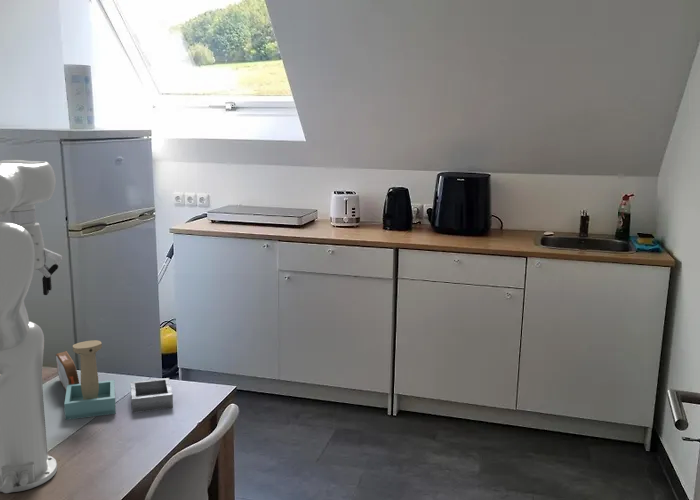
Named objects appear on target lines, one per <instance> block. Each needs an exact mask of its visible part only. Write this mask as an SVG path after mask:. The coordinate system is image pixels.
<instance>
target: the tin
mask: <svg viewBox="0 0 700 500" xmlns="http://www.w3.org/2000/svg"><path fill="white" fill-rule="evenodd" d="M55 360H56V367H57V375H58V379H59V381H60V383H61V385H62V387H63V388H64V391H66V390H67V385H73V384H80V380H79V374H78V371H77V370H78V369H77V367H76V364H75V363H74V362H75V361H74V360H73V359H72V357H71V356H70V354H69V353H68V351H67V350H65V351H62V352H57V353H56V354H55Z"/></svg>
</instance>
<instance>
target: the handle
mask: <svg viewBox="0 0 700 500" xmlns="http://www.w3.org/2000/svg"><path fill="white" fill-rule="evenodd" d="M102 344H103V343H102V341H101V340H99V339H98V340H97V339H96V340H95V339H94V340H85V341H80V342H77V343H75V344H72V352H74V353H75V354H77V355H79V356H80V384H81V390H82V395H83V400H87V399H96V398H98V397H97V396H98V392H99V382H100V381H99V375H98V373H99V372H98V367H97V358H96V356H97V355H96V353H97V352H99V351H100V350H101V349H102V348H103V345H102Z"/></svg>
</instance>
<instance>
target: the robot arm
mask: <svg viewBox="0 0 700 500" xmlns="http://www.w3.org/2000/svg"><path fill="white" fill-rule="evenodd" d="M56 180H57V179H56V174H55V171H54V168H53V166H52V165H51V164H50V163H49V162H48V161H42V160H40V161H39V160H23V159H4V160H3V159H2V160H0V493H4V494H10V493H17V492H23V491H28V490H31V489H33V488H37V487H39V486H41V485H43V484H44V483H46V482H48V481H50V479H52V478H53V476H55V474H56V472H57V471H58V462H57V460H56V458H54V457H53V456H51V455H49V454H48V443H47V442H48V440H47V430H46V428H47V427H46V418H45V417H46V416H45V404H44V403H45V401H44V386H43V361H44V350H45V335H44V332H43V330H42V327H41V326H40V325H38V324H37V323H35V322H33V321H30V318H29V314H28V310H27V308H26V304H25V298H27V294H28V292H29V289H30V287H31V283H32V280H33V276H34V272H35V271H38V272H39V273H41V274H42V275H43V277H42V279H41V281H42V291H43V292H42V293H43V294H42V295H44V296H48V295H49V293H50V291H52V275H53V274H54V273H55V272H56V271H57V270H58V269H59V267H60V265H61V263H62V261H63V259H64V256H63V255H62V254H60V253H57V252H54V251H52V250H50V249H47V248H46V247H45V242H44V236H43V232H42V228H41V225H40V223H39V222H37V218H36V217H37V216H36V205H35V204H39V203H44V202H48V201H49V200H51V198H52V197H53V194H54V193H55V189H56V183H57V181H56ZM46 257H48V258H50V259H52V260H53V263H52V265H51V266H50V267H49V266H47V265H46V264H47V258H46Z"/></svg>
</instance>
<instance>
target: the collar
mask: <svg viewBox="0 0 700 500" xmlns="http://www.w3.org/2000/svg"><path fill="white" fill-rule="evenodd" d="M130 395H131V397H130V398H131V399H130V400H131V410H132V414H134V413H143V412H149V411H159V410H165V409H167V410H168V409H173V408H174V400H173V398H174V395H173V389H172V385H171V381H170V377H166V378H165V377H164V378H156V379H147V380H139V381H137V380H136V381H130Z"/></svg>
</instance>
